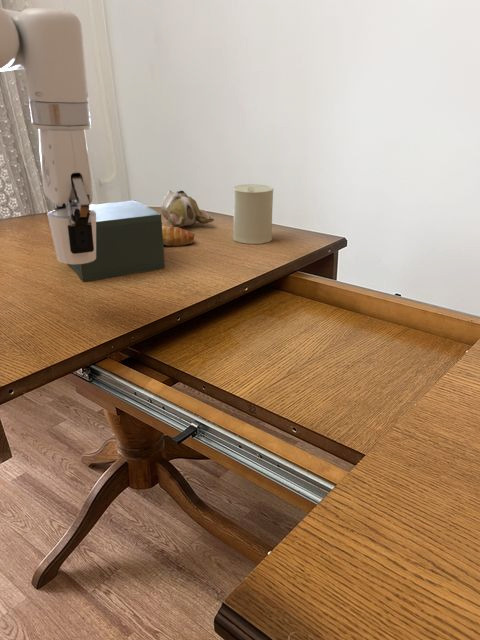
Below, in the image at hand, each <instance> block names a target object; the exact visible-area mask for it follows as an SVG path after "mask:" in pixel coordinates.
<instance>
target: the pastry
mask: <svg viewBox="0 0 480 640" xmlns="http://www.w3.org/2000/svg"><path fill="white" fill-rule="evenodd" d="M162 234H163V245H165V246H168V247H169V246H170V247H171V246H174V247H177V246H178V247H180V246H182V247H183V246H185V245H189V244H190V245H191V244H193V243H194V241H195V233H193V232H191V231H190V230H186V229H184V228H182V227H179V228H178V227H174V226H172V225H162Z"/></svg>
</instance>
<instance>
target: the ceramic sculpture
mask: <svg viewBox="0 0 480 640" xmlns="http://www.w3.org/2000/svg"><path fill="white" fill-rule="evenodd" d="M160 210H161V215H162V216H163V217H164V219H166V220H167V221H168V222H169V223H170V224H171V226H174V227H178V228H182V227H189V226H192V225H194V224H195V223H196V222H198V223H199V224H203V225H204V224H205V225H206V224H209V223H212V222H214V221H215V219H214V218H213V217H211V216H210V214H209V213H208V212H207V211H205V210H204V209H200V208H199V205H198V203H197V201H196V200H195V199H194V198H193V197H191V196H188V193H186V192H185V190H178V191H176V192H173V191H172V190H168V191H167V193H166V195H165V196H164V197H163V200H162V203H161V206H160Z"/></svg>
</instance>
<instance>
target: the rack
mask: <svg viewBox="0 0 480 640" xmlns="http://www.w3.org/2000/svg"><path fill="white" fill-rule="evenodd" d="M89 209H90V210H93V211H96V259H95V260H94V261H92V262H89V263H84V264H67V266H68V267H69V268H70V269H71V270H72V271H73V272H74V273H75V274H76V275H77V276H78V278H79V279H80V280H81V281H82V282H91V281H96V280H101V279H102V280H103V279H108V278H114V277H121V276H127V275H132V274H139V273H144V272H150V271H151V272H152V271H156V270H162V269H165V268H166V263H165V250H164V249H165V248H164V244H163V234H162V226H163V222H162V213H159V212H157V211H156V210H154V209H152V208H151V207H148V206H147V205H145V204H143V203H141V202H139V201H138V200H136V199H135V200H125V201H116V202H115V201H114V202H105V203H94V204H90V206H89Z"/></svg>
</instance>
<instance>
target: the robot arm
mask: <svg viewBox="0 0 480 640" xmlns="http://www.w3.org/2000/svg"><path fill="white" fill-rule="evenodd" d="M83 35H84V34H83V28H82V23H81V20H80V18H79V17H78V16H77V15H76V14H75V13H73V12H71V11H69V10H65V9H58V8H48V7H28V8H25V9H23V10H22V11H19V10H14V9H7V8H3V7H0V72H9V71H16V70H24V73H25V82H26V89H27V95H28V96H27V97H28V100H29V101H28V102H29V109H30V118H31V125H32V128H33V129H38V146H39V147H38V148H39V158H40V159H39V160H40V168H41V169H40V170H41V181H42V190H43V194H44V196H45V197H47V199H49V201H51V202H52V203H53V210H57V209H64V208H66V209H67V213H68V218H69V222H70V225H68V234H69V242H70V251H71V252H72V253H73V254H77V253H86V252H92V251H93V250H94V245H93V235H92V225H91V218H90V213H89V212H90V210H89V206H90V205H91V203H92V202H93V181H92V172H91V163H90V157H89V156H90V155H89V149H88V142H87V137H86V131H87V130H91V129H92V124H91V114H90V104H89V91H88V82H87V72H86V71H87V69H86V58H85V47H84V36H83ZM75 208H78V209H75ZM72 209H75V211H74V214H73V210H72Z"/></svg>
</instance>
